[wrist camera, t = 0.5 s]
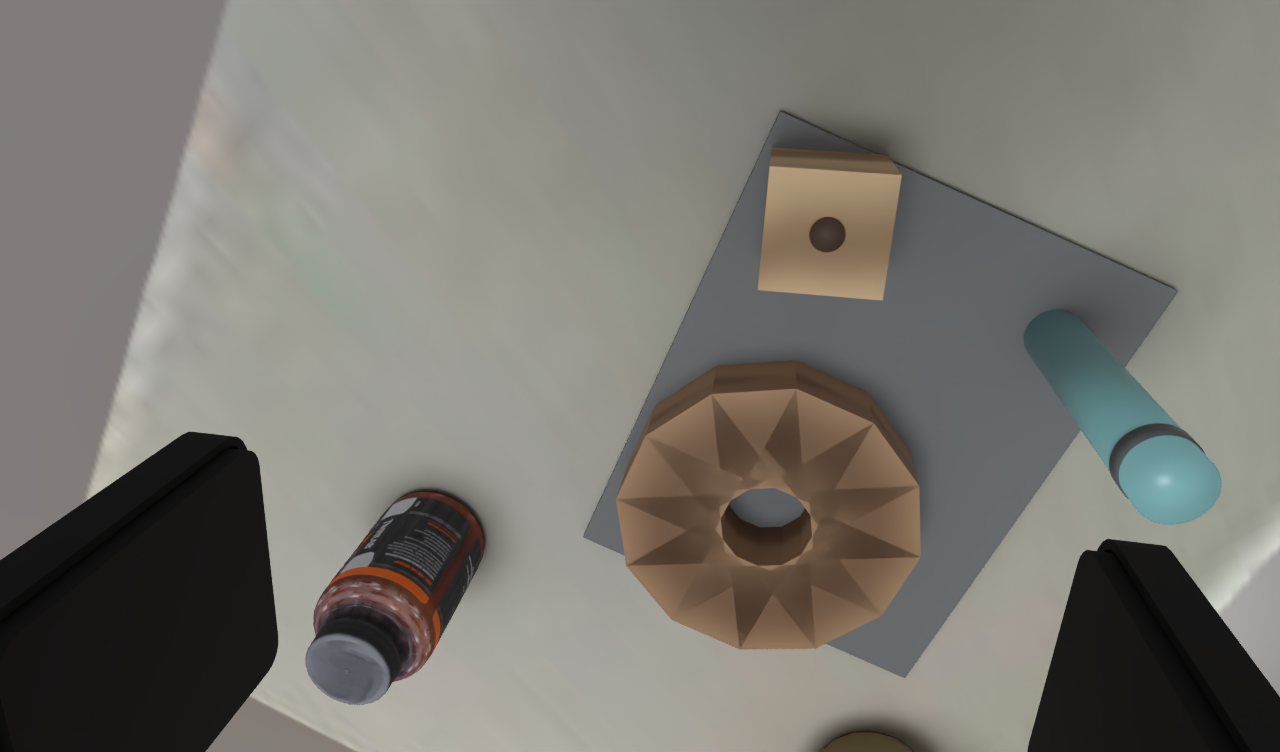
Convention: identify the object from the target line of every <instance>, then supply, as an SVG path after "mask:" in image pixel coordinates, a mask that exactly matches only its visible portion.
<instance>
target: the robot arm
mask: <svg viewBox="0 0 1280 752" xmlns="http://www.w3.org/2000/svg"><path fill="white" fill-rule="evenodd" d="M277 648H278V631H277V622H276V613H275V604H274V595H273V585H272V576H271V567H270V558H269V549H268V540H267V530H266V521H265V512H264V503H263V494H262V484H261V475H260V466H259V461H258V458H257V456H256V454H255V453H254V452H252V451H248V450H247V448H246V446H245V444H244V442H243V441H242V440H241V439H239V438H238V437H232V436H224V435H215V434H206V433H198V432H187V433H185V434H183V435H181V436H180V437H178V438H177V439H175V440H174V441H173V442H171V443H170V444H168V445H167V446H165V447H164V448H162V449H161V450H159V451H158V452H157V453H155V454H154V455H152V456H151V457H149V458H148V459H146V460H145V461H144V462H142V463H141V464H139V465H138V466H136V467H135V468H133V469H132V470H131V471H129V472H128V473H126V474H125V475H123V476H122V477H120V478H119V479H117V480H116V481H115V482H113V483H112V484H110V485H109V486H107V487H106V488H104V489H103V490H102V491H100V492H99V493H97V494H96V495H94V496H93V497H91V498H90V499H88V500H87V501H86V502H84V503H83V504H81V505H80V506H78V507H77V508H76V509H74V510H73V511H71V512H70V513H68V514H67V515H65V516H64V517H62V518H61V519H60V520H58V521H57V522H55V523H54V524H52V525H51V526H49V527H48V528H46V529H45V530H44V531H42V532H41V533H39V534H38V535H36V536H35V537H33V538H32V539H31V540H29V541H28V542H26V543H25V544H23V545H22V546H20V547H19V548H18V549H16V550H15V551H13V552H12V553H10V554H9V555H7V556H6V557H5V558H3V559H2V560H0V752H205V751H206V750H207V749H208V748H209V746H210V745H211V744H212V743H213V741H214V740H215V739H216V738H217V736H218V735H219V734H220V732H221V731H222V730H223V729H224V727H225V726H226V725H227V724H228V722H229V721H230V720H231V718H232V717H233V716H234V715H235V713H236V712H237V710H239V708H240V707H241V706H242V704H243V703H244V702H245V701H246V699H247V698H248V697H249V696H250V694H251V693H252V692H253V690H254V689H255V688H256V687H257V685H258V684H259V683H260V682H261V680H262V679H263V678H264V677H265V675H266V674H267V673H268V671H269V670H270V668H271V667H272V664H273V662H274V660H275V657H276V653H277ZM1028 752H1280V697H1279V695H1278V694H1277V693H1276V691H1275V690H1274V689H1273V687H1272V686H1271V685H1270V683H1269V682H1268V680H1267V679H1266V678H1265V676H1264V675H1263V674H1262V672H1261V671H1260V670H1259V668H1258V667H1257V666H1256V664H1255V663H1254V662H1253V660H1252V659H1251V658H1250V656H1249V655H1248V654H1247V652H1246V651H1245V650H1244V648H1243V647H1242V646H1241V644H1240V643H1239V641H1238V640H1237V639H1236V637H1235V636H1234V635H1233V633H1232V632H1231V631H1230V629H1229V628H1228V627H1227V625H1226V624H1225V623H1224V621H1223V620H1222V619H1221V617H1220V616H1219V615H1218V613H1217V612H1216V611H1215V609H1214V608H1213V607H1212V605H1211V604H1210V602H1209V601H1208V600H1207V598H1206V597H1205V596H1204V594H1203V593H1202V592H1201V590H1200V589H1199V588H1198V586H1197V585H1196V584H1195V582H1194V581H1193V580H1192V578H1191V577H1190V576H1189V574H1188V573H1187V572H1186V570H1185V569H1184V568H1183V566H1182V565H1181V563H1180V562H1179V561H1178V559H1177V558H1176V557H1175V555H1174V554H1173V553H1172V551H1171V550H1169V549H1168V548H1167V547H1166V546H1162V545H1154V544H1146V543H1137V542H1129V541H1120V540H1112V539H1107V540H1105V541H1103V542H1102V544H1101V545H1100V546H1099V548H1098V550H1097V551H1091V550H1086V551H1085V552H1083V553H1082V555H1081V556H1080V559H1079V562H1078V564H1077V568H1076V572H1075V575H1074V579H1073V583H1072V587H1071V590H1070V594H1069V598H1068V601H1067V605H1066V609H1065V612H1064V616H1063V620H1062V623H1061V627H1060V631H1059V634H1058V638H1057V642H1056V646H1055V649H1054V653H1053V657H1052V660H1051V664H1050V668H1049V671H1048V675H1047V679H1046V682H1045V686H1044V690H1043V694H1042V697H1041V701H1040V705H1039V708H1038V712H1037V716H1036V719H1035V723H1034V727H1033V730H1032V734H1031V738H1030V741H1029V746H1028Z"/></svg>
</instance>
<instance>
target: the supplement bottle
mask: <svg viewBox="0 0 1280 752" xmlns="http://www.w3.org/2000/svg"><path fill="white" fill-rule="evenodd" d="M483 550H484V539H483V535H482V531H481V529H480V526H479V524H478V522H477V521H476V519H475V517H474V516H473V515H472V513H471V512H470V511H468V509H467V508H465V507H464V506H463V505H462V504H460V503H459V502H457V501H456V500H454V499H452V498H450V497H448V496H446V495H443V494H439V493H434V492H416V493H412V494H408V495H406V496H403V497H401V498H399V499H398V500H397V501H395V502H394V503H393V504H392V505H391V506H390V507H389V508H388V509H387V510H386V511H385V512H384V514H383V515H382V516H381V517H380V519H379V520H378V521H377V523H376V524H375V525H374V527H373V528H372V529H371V530H370V532H369V533H368V535H367V536H366V537H365V538H364V540H363V541H362V542H361V544H360V545H359V546H358V548H357V549H356V550H355V551H354V553H353V554H352V556H351V557H350V558H349V559H348V560H347V562H346V563H345V564H344V566H343V567H342V568H341V569H340V571H339V572H338V573H337V575H336V576H335V577H334V578H333V580H332V581H331V583H330V584H329V585H328V587H327V588H326V589H325V591H324V592H323V593H322V595H321V597H320V598H319V600H318V602H317V605H316V608H315V610H314V617H313V620H314V622H313V625H314V630H315V634H316V637H315V639H314V640H313V642H312V643H311V645H310V646H309V648H308V650H307V654H306V668H307V671H308V674H309V676H310V678H311V679H312V681H313V682H314V684H315V685H316V686H317V687H318V688H319V689H320V690H321V691H322V692H323V693H325V694H326V695H327V696H329V697H331V698H333V699H335V700H337V701H340V702H343V703H347V704H354V705H364V704H368V703H372V702H374V701H376V700H378V699H380V698H381V697H382V696H383V695H384V694H385V693H386V692H387V690H388V689H389V687H390V685H391V683H392V682H394V681H398V680H402V679H405V678H407V677H409V676H411V675H413V674H414V673H415V672H417V671H418V670H420V669H421V668H422V666H423V665H424V664H425V663H426V662H427V660H428V659H429V657H430V656H431V654H432V653H433V651H434V649H435V647H436V645H437V644H438V642H439V640H440V638H441V636H442V634H443V632H444V630H445V629H446V627H447V625H448V623H449V621H450V619H451V618H452V616H453V614H454V612H455V610H456V608H457V606H458V604H459V603H460V601H461V599H462V597H463V595H464V593H465V591H466V589H467V588H468V586H469V584H470V582H471V580H472V578H473V576H474V574H475V572H476V571H477V569H478V566H479V564H480V561H481V558H482V556H483Z"/></svg>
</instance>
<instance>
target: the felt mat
mask: <svg viewBox="0 0 1280 752" xmlns="http://www.w3.org/2000/svg"><path fill="white" fill-rule="evenodd" d="M771 147H775V148H790V149H806V150H821V151H836V152H852V153H867V154H875V153H873V152H871V151H869V150H866V149H864V148H862V147H860V146H858V145H855V144H853V143H851V142H849V141H846V140H844V139H842V138H840V137H838V136H835V135H833V134H831V133H829V132H827V131H824V130H822V129H820V128H818V127H815V126H813V125H811V124H809V123H807V122H804V121H802V120H800V119H798V118H795V117H793V116H791V115H789V114H787V113H784V112H782V111H780V113H779V115H778V117H777V119H776V121H775V123H774V126H773V128H772V130H771V132H770V134H769V136H768V139H767V141H766V143H765V145H764V147H763V149H762V152H761V154H760V156H759V158H758V160H757V162H756V164H755V167H754V169H753V171H752V173H751V175H750V177H749V180H748V182H747V184H746V186H745V188H744V190H743V193H742V195H741V197H740V199H739V201H738V203H737V205H736V208H735V210H734V212H733V214H732V216H731V218H730V221H729V223H728V225H727V227H726V229H725V231H724V234H723V236H722V238H721V240H720V242H719V244H718V246H717V249H716V251H715V253H714V255H713V257H712V259H711V262H710V264H709V266H708V268H707V270H706V272H705V275H704V277H703V279H702V281H701V283H700V285H699V287H698V290H697V292H696V294H695V296H694V298H693V300H692V303H691V305H690V307H689V309H688V311H687V313H686V316H685V318H684V320H683V322H682V324H681V326H680V328H679V331H678V333H677V335H676V337H675V339H674V341H673V344H672V346H671V348H670V350H669V352H668V354H667V357H666V359H665V361H664V363H663V365H662V367H661V369H660V372H659V374H658V376H657V378H656V380H655V382H654V385H653V387H652V389H651V391H650V393H649V395H648V397H647V400H646V402H645V404H644V406H643V408H642V410H641V413H640V415H639V417H638V419H637V421H636V423H635V426H634V428H633V430H632V432H631V434H630V436H629V438H628V441H627V443H626V445H625V447H624V449H623V451H622V454H621V456H620V458H619V460H618V462H617V464H616V467H615V469H614V471H613V473H612V475H611V477H610V479H609V482H608V484H607V486H606V488H605V490H604V492H603V495H602V497H601V499H600V501H599V503H598V505H597V508H596V510H595V512H594V514H593V516H592V518H591V520H590V523H589V525H588V527H587V529H586V531H585V533H584V536H583V537H584V538H586V539H588V540H590V541H593V542H595V543H597V544H600V545H602V546H604V547H606V548H609V549H611V550H613V551H616V552H618V553H620V554H622V555H625V554H624V548H623V541H622V535H621V529H620V522H619V516H618V510H617V503H616V497H617V494H618V491H619V488H620V485H621V482H622V479H623V476H624V473H625V470H626V467H627V465H628V462H629V460H630V458H631V456H632V454H633V452H634V450H635V448H636V445H637V443H638V441H639V439H640V437H641V435H642V433H643V431H644V428H645V426H646V424H647V422H648V420H649V418H650V416H651V413H652V411H653V409H654V407H655V405H656V404H658V403H659V402H661V401H663V400H664V399H666V398H667V397H669V396H670V395H672V394H673V393H675V392H677V391H678V390H680V389H681V388H683V387H684V386H686V385H687V384H689V383H690V382H692V381H694V380H695V379H697V378H698V377H700V376H701V375H703V374H704V373H706V372H708V371H709V370H711V369H712V368H714V367H715V366H717V365H732V364H746V363H761V362H775V361H790V360H796V361H799V362H801V363H803V364H805V365H808V366H810V367H812V368H814V369H817V370H819V371H821V372H823V373H826V374H828V375H830V376H832V377H835V378H837V379H839V380H841V381H844V382H846V383H848V384H850V385H853V386H855V387H857V388H859V389H862V390H864V391H866V392H868V394H869V395H870V397H871V398H872V399H873V401H874V402H875V404H876V405H877V406H878V408H879V409H880V411H881V412H882V413H883V415H884V416H885V418H886V419H887V420H888V422H889V423H890V425H891V426H892V427H893V429H894V430H895V431H896V433H897V434H898V436H899V437H900V438H901V440H902V441H903V443H904V444H905V445H906V447H907V448H908V450H909V451H910V455H911V458H912V462H913V465H914V469H915V472H916V476H917V480H918V483H919V498H920V543H921V558H920V559H919V561H918V562H917V564H916V565H915V567H914V568H913V570H912V571H911V573H910V574H909V576H908V577H907V579H906V580H905V582H904V583H903V585H902V586H901V588H900V589H899V591H898V592H897V594H896V595H895V597H894V598H893V600H892V601H891V603H890V604H889V606H888V607H887V609H886V610H885V612H884V613H883V615H882V616H880V617H878V618H876V619H874V620H872V621H870V622H868V623H866V624H864V625H862V626H860V627H858V628H856V629H854V630H852V631H850V632H848V633H846V634H844V635H842V636H840V637H838V638H836V639H834V640H832V641H830V642H828V643H826V644H828V645H830V646H833V647H835V648H837V649H839V650H842V651H844V652H846V653H849V654H851V655H853V656H855V657H858V658H860V659H862V660H865V661H867V662H869V663H871V664H874V665H876V666H878V667H881V668H883V669H885V670H887V671H890V672H892V673H894V674H897V675H899V676H901V677H903V678H906V676H907V675H908V673H909V672H910V670H911V669H912V668H913V666H914V665H915V663H916V662H917V661H918V659H919V658H920V656H921V655H922V653H923V652H924V651H925V649H926V648H927V646H928V645H929V644H930V642H931V641H932V639H933V638H934V636H935V635H936V634H937V632H938V631H939V629H940V628H941V627H942V625H943V624H944V622H945V621H946V620H947V618H948V617H949V615H950V614H951V612H952V611H953V610H954V608H955V607H956V605H957V604H958V603H959V601H960V600H961V598H962V597H963V595H964V594H965V593H966V591H967V590H968V588H969V587H970V586H971V584H972V583H973V581H974V580H975V578H976V577H977V576H978V574H979V573H980V571H981V570H982V569H983V567H984V566H985V564H986V563H987V562H988V560H989V559H990V557H991V556H992V554H993V553H994V552H995V550H996V549H997V547H998V546H999V545H1000V543H1001V542H1002V540H1003V539H1004V537H1005V536H1006V535H1007V533H1008V532H1009V530H1010V529H1011V528H1012V526H1013V525H1014V523H1015V522H1016V520H1017V519H1018V518H1019V516H1020V515H1021V513H1022V512H1023V511H1024V509H1025V508H1026V506H1027V505H1028V503H1029V502H1030V501H1031V499H1032V498H1033V496H1034V495H1035V494H1036V492H1037V491H1038V489H1039V488H1040V487H1041V485H1042V484H1043V482H1044V481H1045V479H1046V478H1047V477H1048V475H1049V474H1050V472H1051V471H1052V470H1053V468H1054V467H1055V465H1056V464H1057V462H1058V461H1059V460H1060V458H1061V457H1062V455H1063V454H1064V453H1065V451H1066V450H1067V448H1068V447H1069V445H1070V444H1071V443H1072V441H1073V440H1074V438H1075V437H1076V436H1077V434H1078V433H1079V431H1080V430H1081V429H1080V428H1079V426H1078V425H1077V423H1076V422H1075V420H1074V419H1073V418H1072V416H1071V415H1070V413H1069V412H1068V410H1067V409H1066V407H1065V406H1064V405H1063V403H1062V402H1061V400H1060V399H1059V397H1058V396H1057V394H1056V393H1055V392H1054V390H1053V389H1052V387H1051V386H1050V384H1049V383H1048V381H1047V380H1046V378H1045V377H1044V376H1043V374H1042V373H1041V371H1040V370H1039V368H1038V367H1037V365H1036V364H1035V363H1034V361H1033V360H1032V358H1031V357H1030V355H1029V354H1028V352H1027V351H1026V349H1025V346H1024V333H1025V330H1026V328H1027V326H1028V325H1029V323H1030V322H1031V321H1032V320H1033V319H1034V318H1035V317H1036V316H1038V315H1039V314H1041V313H1043V312H1046V311H1050V310H1065V311H1069V312H1071V313H1073V314H1074V315H1076V316H1077V317H1078V318H1079V319H1080V320H1081V321H1082V322H1083V323H1084V324H1085V325H1086V326H1087V328H1088V329H1089V330H1090V331H1091V332H1092V333H1093V334H1094V335H1095V336H1096V337H1097V338H1098V339H1099V340H1100V342H1101V343H1102V344H1103V345H1104V346H1105V347H1106V348H1107V349H1108V350H1109V351H1110V352H1111V353H1112V355H1113V356H1114V357H1115V358H1116V359H1117V360H1118V361H1119V362H1120V363H1121V364H1122V365H1123V366H1124V367H1125V366H1126V365H1127V363H1128V362H1129V361H1130V359H1131V358H1132V356H1133V355H1134V354H1135V352H1136V351H1137V349H1138V348H1139V346H1140V345H1141V344H1142V342H1143V341H1144V339H1145V338H1146V337H1147V335H1148V334H1149V332H1150V331H1151V329H1152V328H1153V327H1154V325H1155V324H1156V322H1157V321H1158V320H1159V318H1160V317H1161V315H1162V314H1163V312H1164V311H1165V310H1166V308H1167V307H1168V305H1169V304H1170V303H1171V301H1172V300H1173V298H1174V297H1175V295H1176V294H1177V293H1178V291H1177V290H1176V289H1174V288H1172V287H1170V286H1168V285H1166V284H1163V283H1161V282H1159V281H1157V280H1154V279H1152V278H1150V277H1148V276H1146V275H1143V274H1141V273H1139V272H1137V271H1134V270H1132V269H1130V268H1128V267H1126V266H1123V265H1121V264H1119V263H1117V262H1115V261H1112V260H1110V259H1108V258H1106V257H1103V256H1101V255H1099V254H1097V253H1095V252H1092V251H1090V250H1088V249H1086V248H1084V247H1081V246H1079V245H1077V244H1075V243H1072V242H1070V241H1068V240H1066V239H1064V238H1061V237H1059V236H1057V235H1055V234H1053V233H1050V232H1048V231H1046V230H1044V229H1041V228H1039V227H1037V226H1035V225H1033V224H1030V223H1028V222H1026V221H1024V220H1021V219H1019V218H1017V217H1015V216H1013V215H1010V214H1008V213H1006V212H1004V211H1002V210H999V209H997V208H995V207H993V206H990V205H988V204H986V203H984V202H982V201H979V200H977V199H975V198H973V197H971V196H968V195H966V194H964V193H962V192H959V191H957V190H955V189H953V188H951V187H948V186H946V185H944V184H942V183H940V182H937V181H935V180H933V179H931V178H928V177H926V176H924V175H922V174H920V173H917V172H915V171H913V170H911V169H908V168H906V167H904V166H902V165H900V164H897V163H895V162H893V163H894V164H895V166H896V167H897V169H898V170H899V172H900V173H901V175H902V177H901V184H900V190H899V197H898V204H897V210H896V217H895V223H894V230H893V236H892V243H891V249H890V256H889V263H888V269H887V276H886V282H885V289H884V295H883V301H882V300H871V299H859V298H847V297H835V296H823V295H811V294H799V293H787V292H775V291H763V290H758V282H759V271H760V260H761V249H762V239H763V229H764V218H765V208H766V198H767V187H768V177H769V167H770V156H771ZM729 506H730V507H731V508H732V509H733V511H734V512H735V513H736V515H737V516H738V517H739V518H740V519H742V520H744V521H746V522H748V523H751V524H753V525H755V526H758V527H782V526H784V525H786V524H787V523H789V522H791V521H793V520H795V519H796V518H798V517H800V516H801V514H802V512H803V511H804V509H805V508H804V506H803V505H802V504H801V502H800V501H799V500H798V498H796V497H794V496H792V495H790V494H787V493H785V492H783V491H781V490H778V489H776V488H762V489H750V490H748V491H746V492H744V493H743V494H741V495H739V496H737V497H736V498H734V499H732V500H731V501H730V502H729Z"/></svg>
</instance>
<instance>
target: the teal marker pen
mask: <svg viewBox="0 0 1280 752" xmlns="http://www.w3.org/2000/svg"><path fill="white" fill-rule="evenodd" d="M1024 346H1025V349H1026V351H1027V352H1028V354H1029V355H1030V357H1031V358H1032V360H1033V361H1034V363H1035V364H1036V365H1037V367H1038V368H1039V370H1040V371H1041V373H1042V374H1043V376H1044V377H1045V378H1046V380H1047V381H1048V383H1049V384H1050V386H1051V387H1052V389H1053V390H1054V392H1055V393H1056V394H1057V396H1058V397H1059V399H1060V400H1061V402H1062V403H1063V405H1064V406H1065V407H1066V409H1067V410H1068V412H1069V413H1070V415H1071V416H1072V418H1073V419H1074V420H1075V422H1076V423H1077V425H1078V426H1079V428H1080V429H1081V431H1082V432H1083V433H1084V435H1085V436H1086V438H1087V439H1088V441H1089V442H1090V444H1091V445H1092V446H1093V448H1094V449H1095V451H1096V452H1097V454H1098V455H1099V457H1100V458H1101V459H1102V461H1103V462H1104V464H1105V465H1106V467H1107V468H1108V470H1109V471H1110V473H1111V476H1112V478H1113V480H1114V481H1115V483H1116V484H1117V485H1118V487H1119V488H1120V490H1121V491H1122V493H1123V494H1124V495H1125V496H1126V497H1127V498H1128V499H1129V500H1130V501H1131V503H1132V504H1133V506H1134V507H1135V509H1136V510H1137V511H1138V512H1139V513H1140V514H1141V515H1142V516H1143V517H1145V518H1146V519H1148V520H1150V521H1153V522H1155V523H1160V524H1166V525H1173V524H1181V523H1186V522H1189V521H1192V520H1194V519H1196V518H1198V517H1200V516H1201V515H1203V514H1204V513H1206V512H1207V511H1208V510H1209V509H1210V508H1211V507H1212V506H1213V505H1214V503H1215V502H1216V500H1217V498H1218V497H1219V494H1220V491H1221V476H1220V473H1219V471H1218V469H1217V467H1216V466H1215V465H1214V463H1213V462H1212V461H1211V460H1210V459H1209V458H1208V457H1207V456H1206V455H1205V453H1204V451H1203V449H1202V448H1201V447H1200V446H1199V445H1198V444H1197V443H1196V442H1195V440H1194V439H1193V438H1192V437H1191V436H1190V435H1189V434H1188V433H1187V432H1185V431H1184V430H1182V429H1181V428H1180V427H1179V426H1178V425H1177V423H1176V422H1175V421H1174V420H1173V419H1172V418H1171V417H1170V416H1169V415H1168V414H1167V413H1166V412H1165V411H1164V409H1163V408H1162V407H1161V406H1160V405H1159V404H1158V403H1157V402H1156V401H1155V400H1154V399H1153V398H1152V397H1151V395H1150V394H1149V393H1148V392H1147V391H1146V390H1145V389H1144V388H1143V387H1142V386H1141V385H1140V384H1139V383H1138V381H1137V380H1136V379H1135V378H1134V377H1133V376H1132V375H1131V374H1130V373H1129V372H1128V371H1127V370H1126V369H1125V367H1124V366H1123V365H1122V364H1121V363H1120V362H1119V361H1118V360H1117V359H1116V358H1115V357H1114V356H1113V355H1112V353H1111V352H1110V351H1109V350H1108V349H1107V348H1106V347H1105V346H1104V345H1103V344H1102V343H1101V342H1100V340H1099V339H1098V338H1097V337H1096V336H1095V335H1094V334H1093V333H1092V332H1091V331H1090V330H1089V329H1088V328H1087V326H1086V325H1085V324H1084V323H1083V322H1082V321H1081V320H1080V319H1079V318H1078V317H1077V316H1076V315H1074V314H1073V313H1071V312H1069V311H1065V310H1050V311H1046V312H1043V313H1041V314H1039V315H1038V316H1036V317H1035V318H1034V319H1033V320H1032V321H1031V322H1030V323H1029V325H1028V326H1027V328H1026V330H1025V333H1024Z"/></svg>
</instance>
